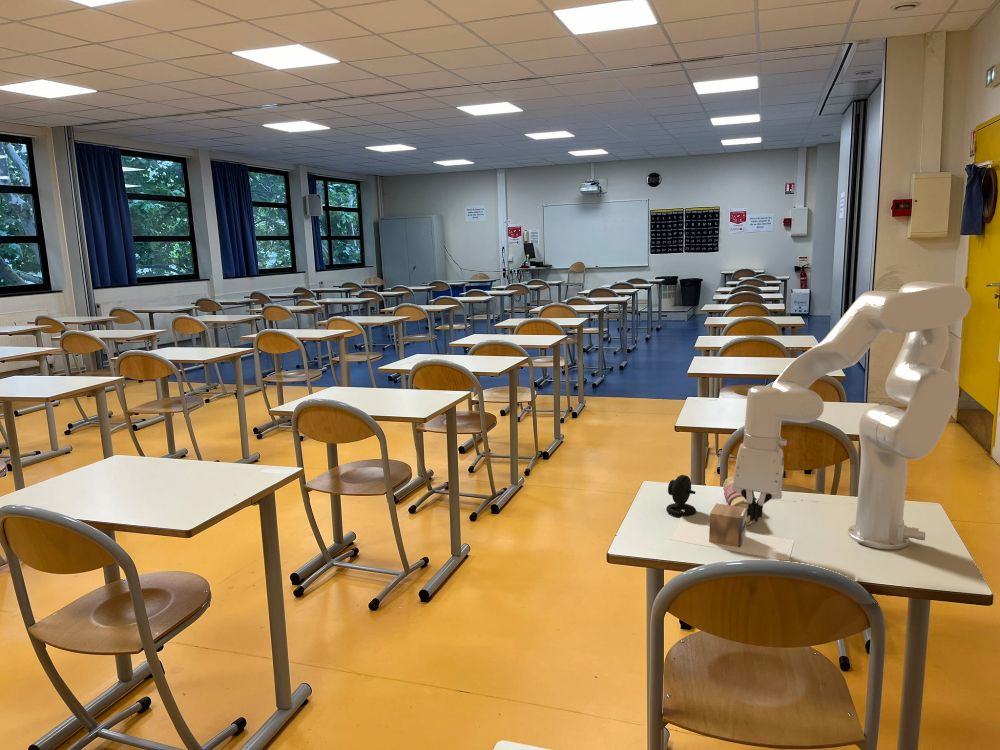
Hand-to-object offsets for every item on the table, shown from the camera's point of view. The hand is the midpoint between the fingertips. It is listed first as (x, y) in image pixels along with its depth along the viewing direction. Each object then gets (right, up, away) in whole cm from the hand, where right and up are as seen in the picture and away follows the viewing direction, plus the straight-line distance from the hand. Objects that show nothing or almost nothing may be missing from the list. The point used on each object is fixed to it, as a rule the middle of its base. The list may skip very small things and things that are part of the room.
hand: (754, 519), depth 161 cm
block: (-2, -2, +2) cm, 3 cm away
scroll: (+4, -3, +21) cm, 22 cm away
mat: (-4, -6, +4) cm, 8 cm away
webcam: (-11, -3, +22) cm, 25 cm away
